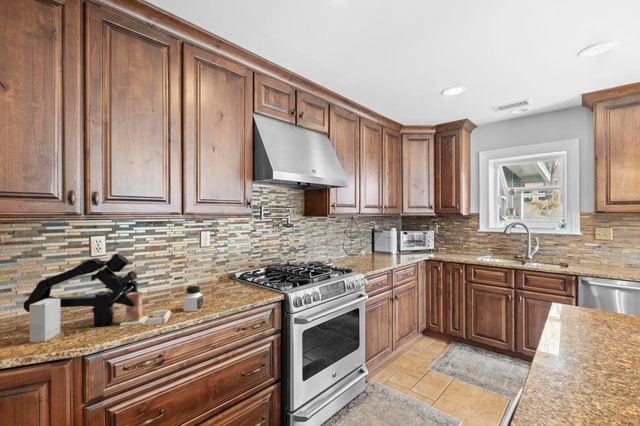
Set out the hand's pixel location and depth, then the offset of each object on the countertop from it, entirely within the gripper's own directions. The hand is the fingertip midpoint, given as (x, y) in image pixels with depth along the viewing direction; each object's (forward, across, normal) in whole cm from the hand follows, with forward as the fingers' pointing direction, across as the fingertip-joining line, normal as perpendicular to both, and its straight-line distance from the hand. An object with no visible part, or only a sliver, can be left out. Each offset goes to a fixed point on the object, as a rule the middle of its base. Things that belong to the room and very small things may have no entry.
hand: (137, 303), depth 139 cm
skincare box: (-14, -12, +27) cm, 33 cm away
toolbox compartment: (+12, +1, 0) cm, 12 cm away
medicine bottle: (+21, +14, -9) cm, 27 cm away
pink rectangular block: (+4, 0, +6) cm, 8 cm away
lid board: (+5, 0, +7) cm, 9 cm away
